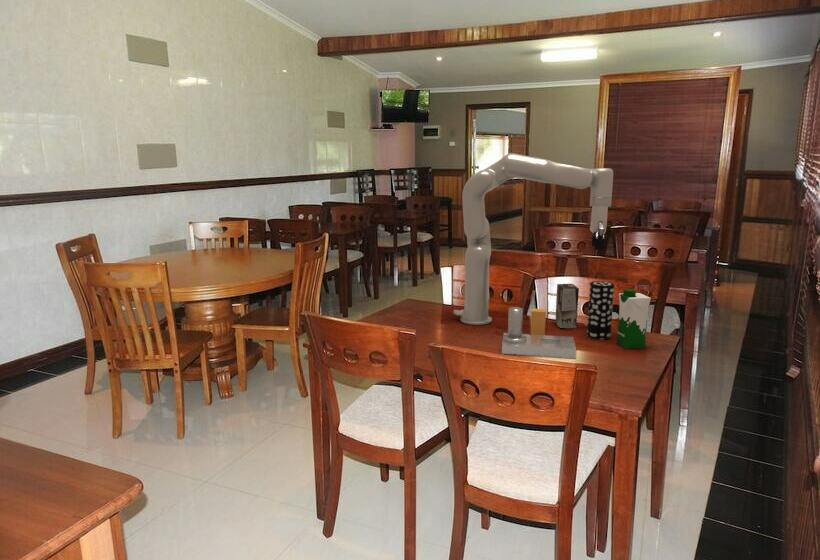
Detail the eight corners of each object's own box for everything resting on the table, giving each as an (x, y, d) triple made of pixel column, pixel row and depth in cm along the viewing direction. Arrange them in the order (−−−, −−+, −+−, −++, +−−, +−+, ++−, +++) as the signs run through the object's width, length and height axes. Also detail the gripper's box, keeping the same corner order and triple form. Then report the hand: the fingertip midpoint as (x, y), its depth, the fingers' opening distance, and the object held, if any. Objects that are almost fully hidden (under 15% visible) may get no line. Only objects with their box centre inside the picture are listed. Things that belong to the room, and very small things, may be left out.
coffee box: (576, 329, 219) (579, 288, 216) (560, 329, 219) (562, 288, 216) (570, 322, 228) (573, 283, 225) (554, 322, 228) (556, 283, 225)
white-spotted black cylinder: (584, 333, 214) (587, 281, 210) (606, 333, 214) (610, 281, 210) (590, 340, 206) (593, 286, 202) (613, 340, 206) (617, 286, 202)
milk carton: (612, 341, 204) (616, 287, 200) (636, 340, 205) (640, 286, 201) (625, 349, 195) (629, 293, 191) (649, 348, 197) (654, 292, 193)
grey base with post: (501, 353, 192) (503, 313, 189) (503, 340, 205) (504, 303, 202) (575, 358, 187) (578, 317, 184) (572, 345, 200) (575, 306, 198)
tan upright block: (530, 337, 209) (531, 311, 207) (530, 334, 213) (531, 308, 211) (544, 338, 208) (545, 311, 206) (544, 335, 212) (545, 309, 210)
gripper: (587, 200, 221) (585, 244, 224) (592, 203, 204) (589, 251, 208) (608, 200, 219) (605, 244, 223) (614, 204, 203) (611, 251, 206)
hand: (597, 247), depth 215 cm, fingers open, 9 cm apart
